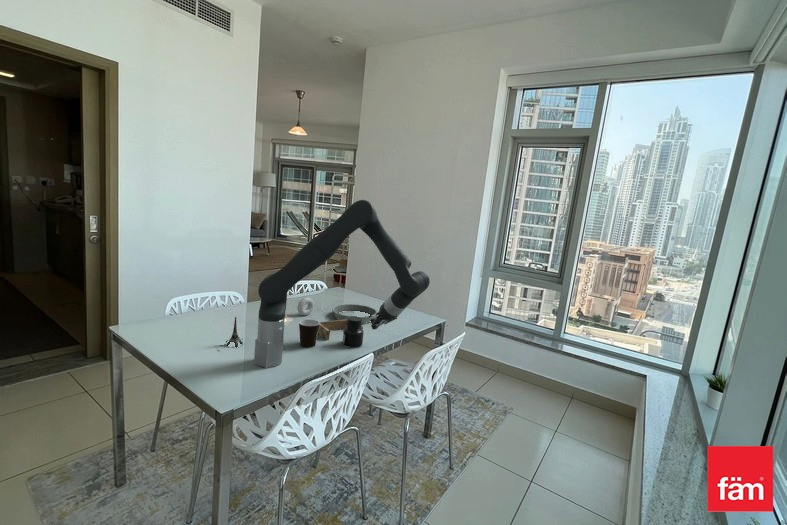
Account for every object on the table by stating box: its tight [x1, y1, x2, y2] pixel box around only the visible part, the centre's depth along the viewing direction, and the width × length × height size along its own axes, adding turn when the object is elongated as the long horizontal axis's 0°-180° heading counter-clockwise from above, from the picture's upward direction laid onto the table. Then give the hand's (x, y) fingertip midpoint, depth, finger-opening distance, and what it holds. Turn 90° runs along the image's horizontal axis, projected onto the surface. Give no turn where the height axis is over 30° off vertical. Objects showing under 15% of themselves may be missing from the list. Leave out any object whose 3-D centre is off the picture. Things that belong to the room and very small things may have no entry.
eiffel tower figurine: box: [225, 316, 244, 349], centre depth 152 cm, size 15×10×13 cm
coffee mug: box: [298, 318, 321, 349], centre depth 161 cm, size 12×9×10 cm
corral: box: [318, 319, 364, 341], centre depth 178 cm, size 12×18×4 cm, turn 125°
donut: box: [296, 296, 315, 317], centre depth 199 cm, size 10×3×10 cm, turn 139°
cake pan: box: [332, 303, 378, 324], centre depth 205 cm, size 25×25×4 cm
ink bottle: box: [342, 315, 364, 349], centre depth 166 cm, size 10×9×12 cm
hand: (373, 327), depth 153 cm, fingers closed
